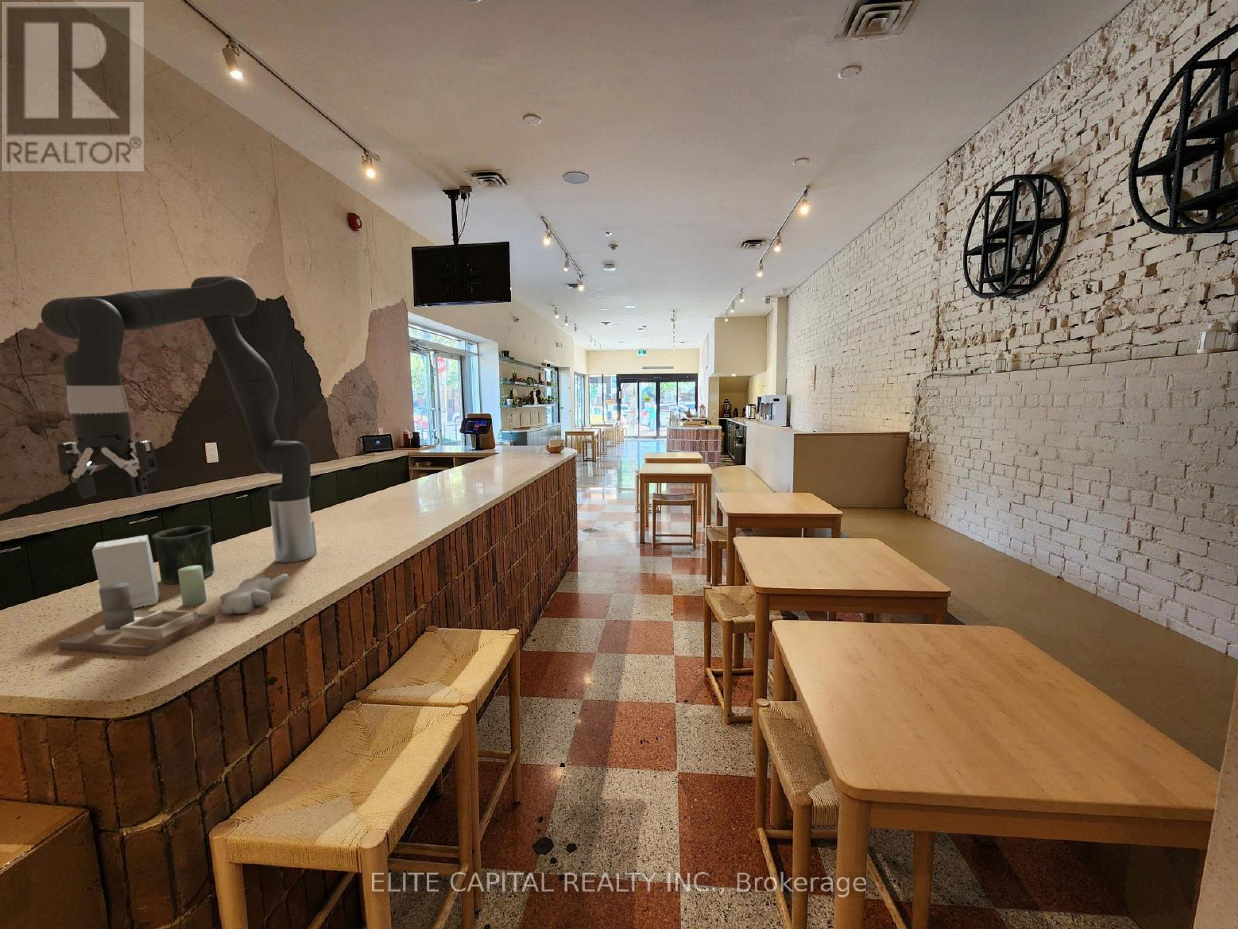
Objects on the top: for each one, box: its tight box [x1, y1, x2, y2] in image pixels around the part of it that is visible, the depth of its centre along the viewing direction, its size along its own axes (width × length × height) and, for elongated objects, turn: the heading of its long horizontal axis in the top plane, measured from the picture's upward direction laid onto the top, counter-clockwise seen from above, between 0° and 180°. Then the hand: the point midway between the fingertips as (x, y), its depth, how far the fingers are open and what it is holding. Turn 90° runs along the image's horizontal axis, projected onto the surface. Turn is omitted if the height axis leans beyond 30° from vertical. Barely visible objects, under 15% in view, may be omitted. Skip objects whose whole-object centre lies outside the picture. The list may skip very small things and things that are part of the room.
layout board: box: [57, 583, 216, 657], centre depth 92 cm, size 13×18×10 cm
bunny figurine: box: [220, 573, 290, 615], centre depth 107 cm, size 10×5×15 cm
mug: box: [152, 525, 215, 585], centre depth 123 cm, size 11×15×12 cm
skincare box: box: [91, 534, 160, 610], centre depth 104 cm, size 8×6×15 cm
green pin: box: [178, 565, 207, 607], centre depth 107 cm, size 4×4×8 cm
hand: (114, 496), depth 92 cm, fingers open, 8 cm apart
